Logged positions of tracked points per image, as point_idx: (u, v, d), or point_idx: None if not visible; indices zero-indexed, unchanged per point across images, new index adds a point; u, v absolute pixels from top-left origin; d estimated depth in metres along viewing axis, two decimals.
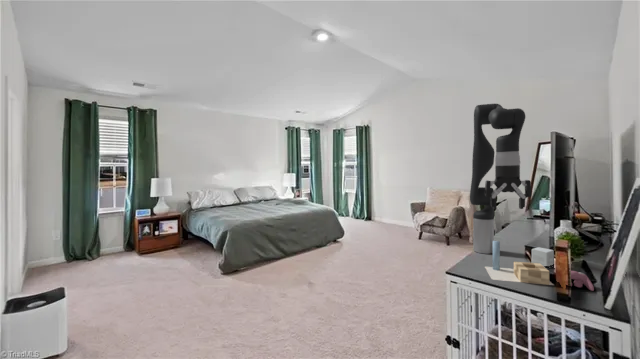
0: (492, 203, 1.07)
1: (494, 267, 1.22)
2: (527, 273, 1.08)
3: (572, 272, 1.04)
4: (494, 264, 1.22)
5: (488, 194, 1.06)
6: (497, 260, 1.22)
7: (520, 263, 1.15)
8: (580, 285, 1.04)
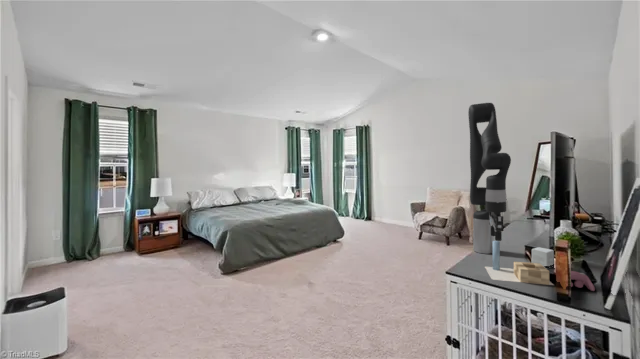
0: (500, 236, 1.17)
1: (494, 267, 1.22)
2: (527, 273, 1.08)
3: (573, 272, 1.04)
4: (494, 264, 1.22)
5: None
6: (497, 260, 1.22)
7: (520, 263, 1.15)
8: (581, 285, 1.03)
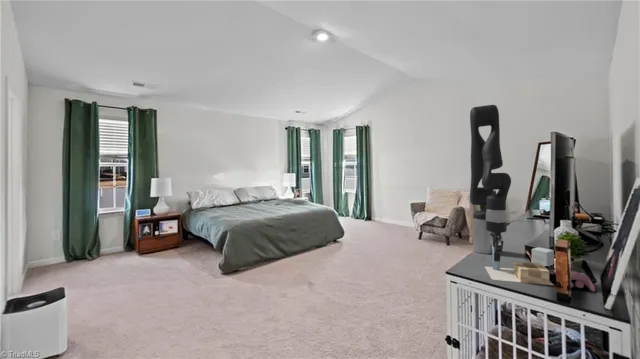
0: None
1: (494, 267, 1.22)
2: (527, 273, 1.08)
3: (573, 273, 1.04)
4: (494, 264, 1.22)
5: None
6: None
7: (520, 263, 1.15)
8: (581, 286, 1.03)
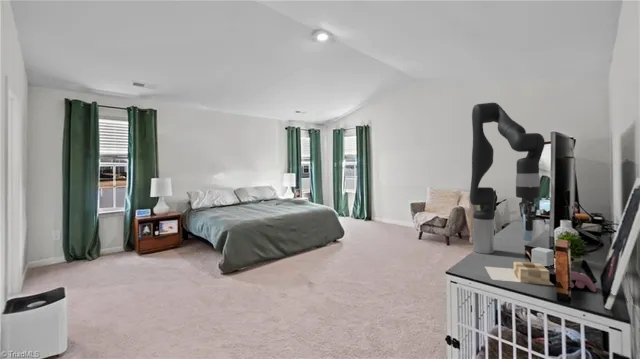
0: None
1: (525, 237, 1.11)
2: (527, 273, 1.08)
3: (574, 273, 1.03)
4: (525, 234, 1.11)
5: None
6: None
7: (520, 263, 1.15)
8: (582, 286, 1.03)
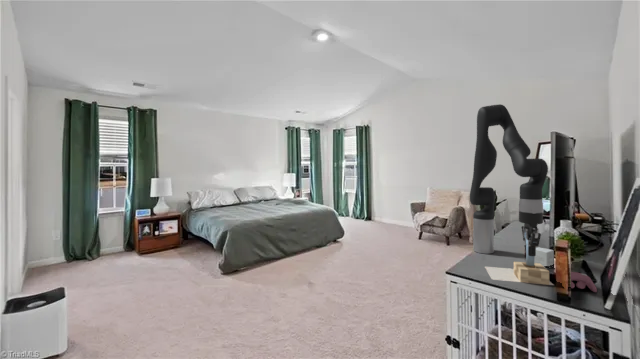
0: None
1: (528, 262, 1.11)
2: (527, 273, 1.08)
3: (575, 273, 1.03)
4: (528, 259, 1.11)
5: None
6: None
7: (520, 263, 1.15)
8: (583, 286, 1.02)
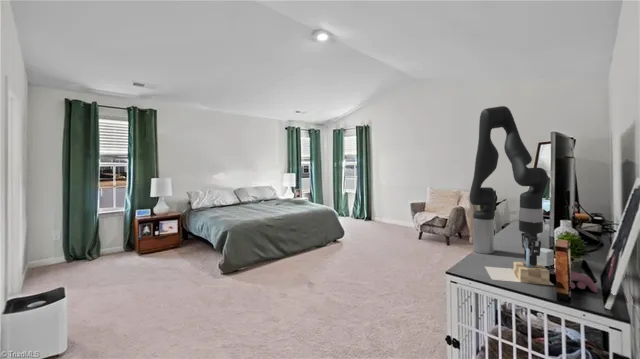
0: None
1: None
2: (527, 273, 1.08)
3: (575, 274, 1.03)
4: None
5: None
6: None
7: (520, 263, 1.15)
8: (583, 287, 1.02)
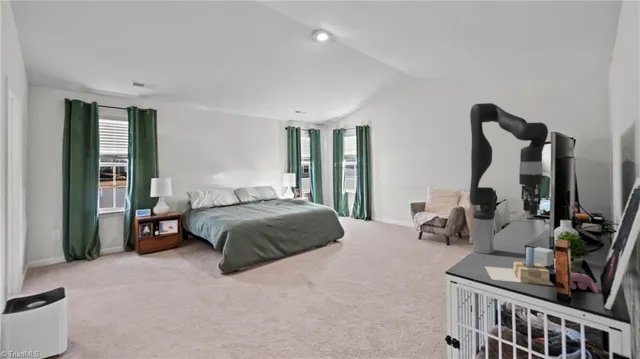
0: None
1: None
2: (527, 273, 1.08)
3: (576, 274, 1.02)
4: None
5: None
6: None
7: (520, 263, 1.15)
8: (584, 287, 1.02)
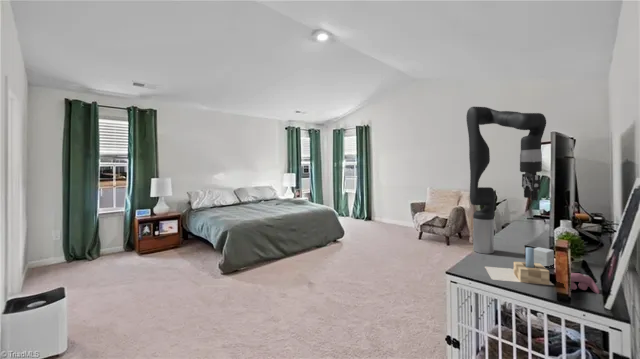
0: None
1: None
2: (527, 273, 1.08)
3: (577, 274, 1.02)
4: None
5: None
6: None
7: (520, 263, 1.15)
8: (585, 288, 1.01)
